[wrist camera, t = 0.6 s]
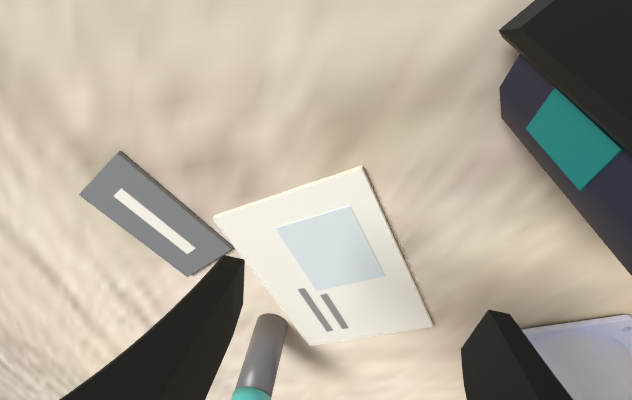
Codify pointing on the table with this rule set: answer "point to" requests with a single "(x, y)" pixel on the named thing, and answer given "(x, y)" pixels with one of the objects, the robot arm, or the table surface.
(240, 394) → the marker
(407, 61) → the table surface
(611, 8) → the speaker
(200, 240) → the plate
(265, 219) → the paper
